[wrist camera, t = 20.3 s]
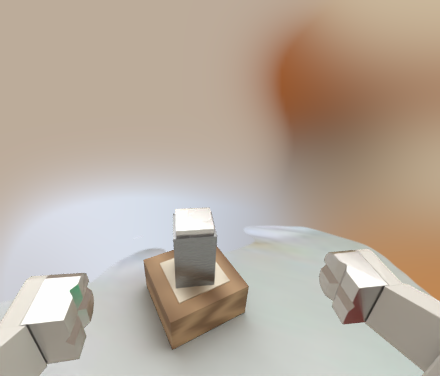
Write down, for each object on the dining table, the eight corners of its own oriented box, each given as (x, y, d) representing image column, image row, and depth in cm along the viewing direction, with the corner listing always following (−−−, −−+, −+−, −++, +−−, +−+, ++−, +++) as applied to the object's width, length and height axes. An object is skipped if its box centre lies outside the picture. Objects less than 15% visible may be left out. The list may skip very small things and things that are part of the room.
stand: (172, 349, 35) (170, 321, 32) (146, 285, 44) (143, 259, 41) (244, 312, 41) (248, 285, 38) (208, 261, 50) (209, 236, 47)
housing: (214, 284, 38) (217, 230, 33) (175, 288, 37) (173, 233, 32) (209, 257, 42) (211, 206, 37) (175, 259, 41) (172, 207, 36)
